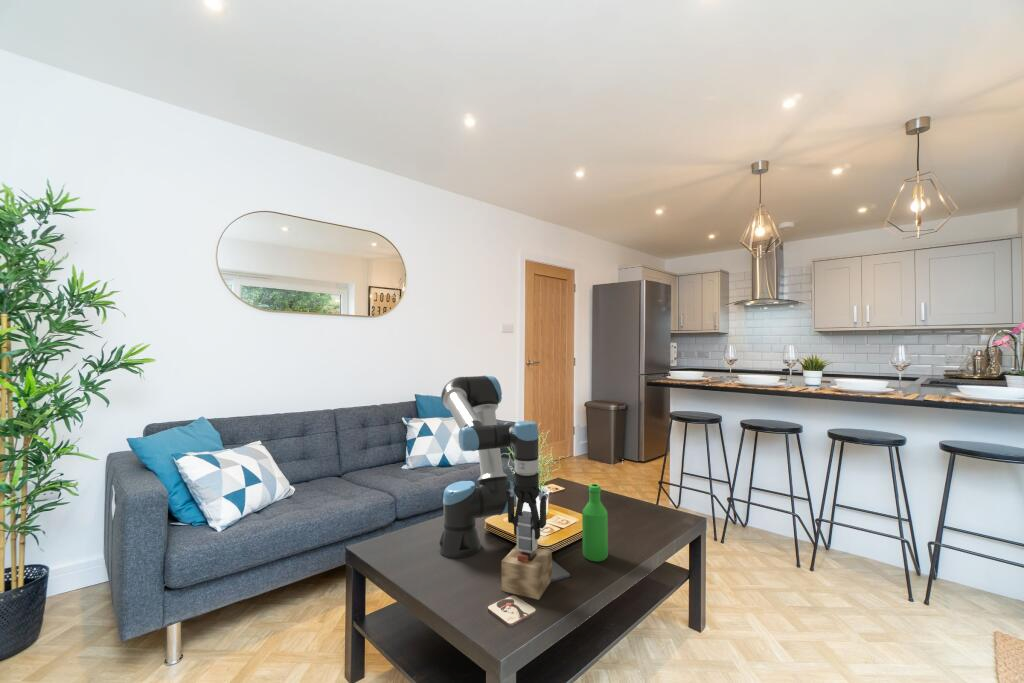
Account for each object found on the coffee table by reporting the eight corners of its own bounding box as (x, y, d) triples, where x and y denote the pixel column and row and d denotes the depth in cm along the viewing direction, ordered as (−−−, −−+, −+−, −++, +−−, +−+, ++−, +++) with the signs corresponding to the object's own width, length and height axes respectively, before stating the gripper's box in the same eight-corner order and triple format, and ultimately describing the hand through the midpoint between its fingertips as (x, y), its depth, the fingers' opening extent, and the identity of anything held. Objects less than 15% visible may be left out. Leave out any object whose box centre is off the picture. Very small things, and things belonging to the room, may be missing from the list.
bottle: (608, 563, 150) (607, 490, 150) (582, 561, 151) (581, 488, 152) (607, 551, 158) (607, 482, 158) (583, 549, 160) (582, 480, 160)
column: (518, 587, 136) (517, 515, 136) (523, 580, 140) (523, 510, 140) (531, 590, 134) (530, 517, 134) (536, 583, 138) (536, 512, 138)
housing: (501, 590, 134) (501, 555, 134) (517, 572, 145) (517, 539, 145) (538, 599, 129) (538, 563, 129) (552, 579, 140) (551, 546, 140)
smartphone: (547, 555, 155) (571, 574, 142) (547, 558, 155) (571, 577, 142) (528, 560, 152) (551, 580, 138) (528, 563, 152) (551, 583, 138)
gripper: (495, 472, 137) (496, 547, 137) (549, 478, 130) (549, 558, 130) (506, 466, 144) (506, 537, 144) (557, 472, 137) (557, 547, 137)
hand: (527, 547), depth 137 cm, fingers closed on column, 4 cm apart
